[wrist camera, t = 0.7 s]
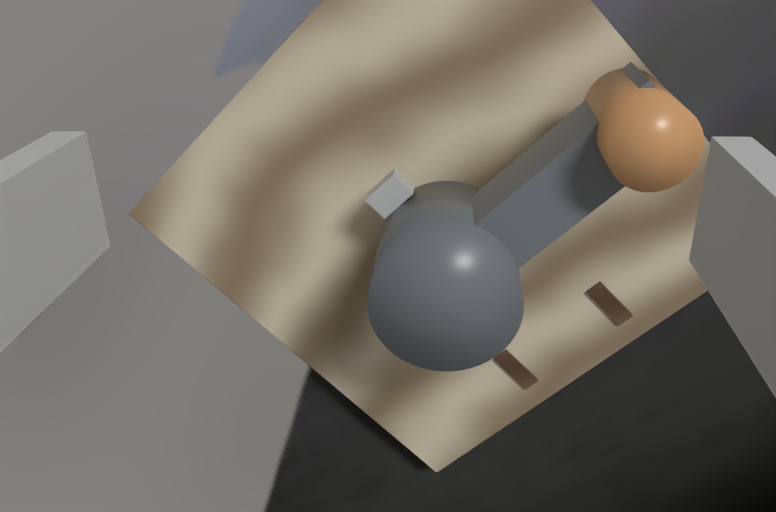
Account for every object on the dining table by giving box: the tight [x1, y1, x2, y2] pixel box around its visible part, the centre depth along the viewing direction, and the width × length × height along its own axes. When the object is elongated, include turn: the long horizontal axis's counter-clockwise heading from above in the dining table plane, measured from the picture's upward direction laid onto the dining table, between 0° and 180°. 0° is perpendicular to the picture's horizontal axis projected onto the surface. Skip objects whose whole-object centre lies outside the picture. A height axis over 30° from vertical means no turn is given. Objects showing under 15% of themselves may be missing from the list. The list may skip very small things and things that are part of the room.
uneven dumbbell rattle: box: [365, 62, 704, 371], centre depth 33 cm, size 10×16×7 cm, turn 135°
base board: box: [129, 0, 710, 472], centre depth 40 cm, size 26×26×4 cm
